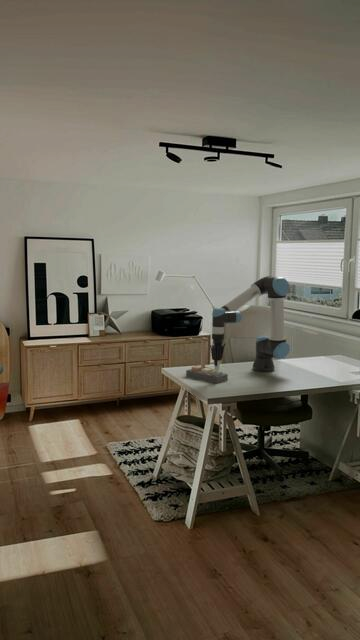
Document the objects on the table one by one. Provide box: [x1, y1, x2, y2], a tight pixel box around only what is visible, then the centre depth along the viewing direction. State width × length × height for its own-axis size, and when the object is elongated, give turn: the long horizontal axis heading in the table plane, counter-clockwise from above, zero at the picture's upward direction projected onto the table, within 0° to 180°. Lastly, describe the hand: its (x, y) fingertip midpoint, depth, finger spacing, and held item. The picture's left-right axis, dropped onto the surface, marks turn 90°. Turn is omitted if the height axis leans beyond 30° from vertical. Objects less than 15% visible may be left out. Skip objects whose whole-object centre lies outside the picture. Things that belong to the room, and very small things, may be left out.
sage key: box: [211, 370, 223, 376], centre depth 329 cm, size 5×5×3 cm
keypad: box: [185, 368, 229, 384], centre depth 335 cm, size 25×11×4 cm, turn 48°
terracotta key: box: [191, 365, 203, 372], centre depth 340 cm, size 5×5×3 cm
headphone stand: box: [200, 337, 214, 371], centre depth 355 cm, size 10×11×22 cm
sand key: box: [201, 367, 213, 374], centre depth 335 cm, size 5×5×3 cm
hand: (216, 370), depth 329 cm, fingers closed
